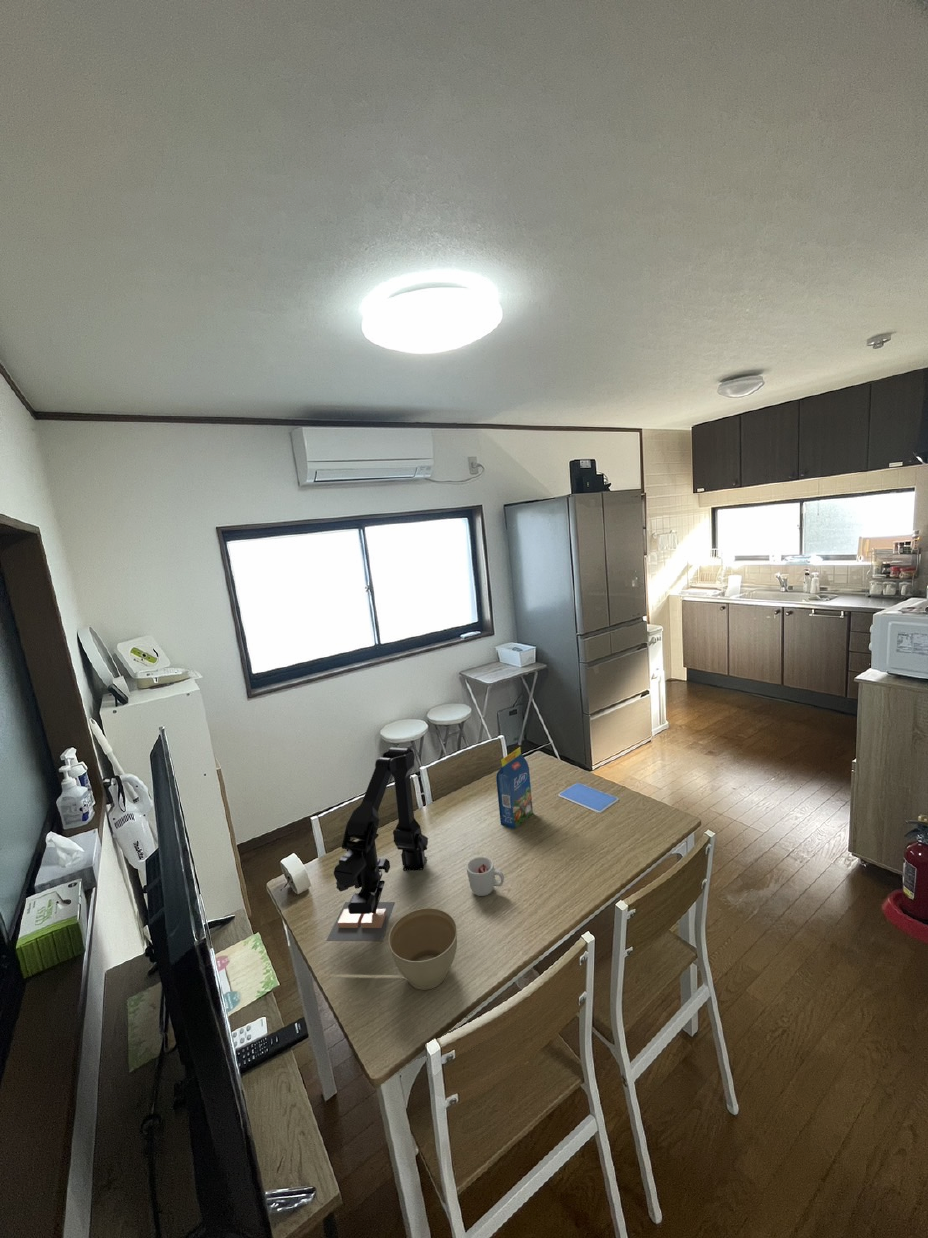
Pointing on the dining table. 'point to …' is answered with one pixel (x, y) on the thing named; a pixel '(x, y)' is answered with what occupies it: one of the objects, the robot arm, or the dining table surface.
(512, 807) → the blue food package
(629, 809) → the dining table surface
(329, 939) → the mat
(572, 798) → the tablet computer
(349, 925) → the tile
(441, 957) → the planter bowl
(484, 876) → the cup
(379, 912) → the tile
